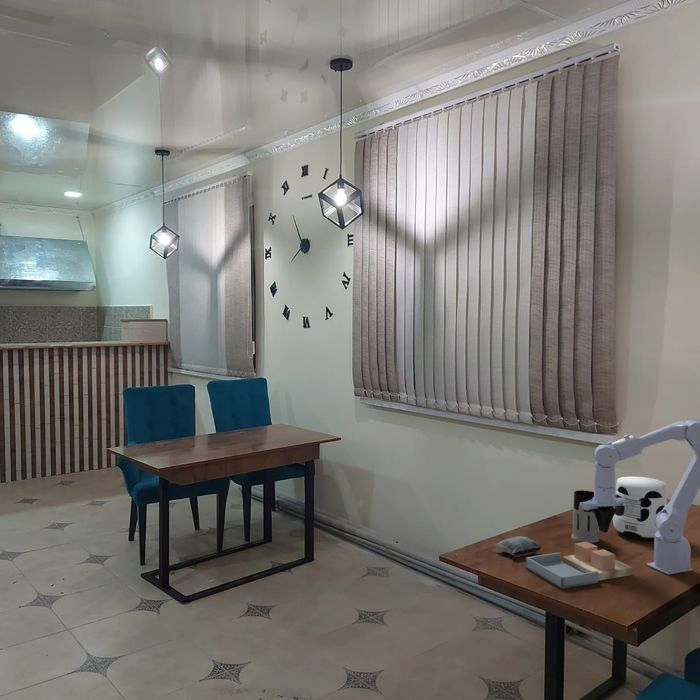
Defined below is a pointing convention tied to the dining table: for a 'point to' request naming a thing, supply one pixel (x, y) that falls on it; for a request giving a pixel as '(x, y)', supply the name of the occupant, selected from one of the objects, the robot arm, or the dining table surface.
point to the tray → (559, 571)
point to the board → (586, 567)
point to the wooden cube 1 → (584, 550)
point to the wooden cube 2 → (603, 559)
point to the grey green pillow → (519, 546)
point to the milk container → (639, 506)
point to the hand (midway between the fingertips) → (603, 531)
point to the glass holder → (584, 519)
